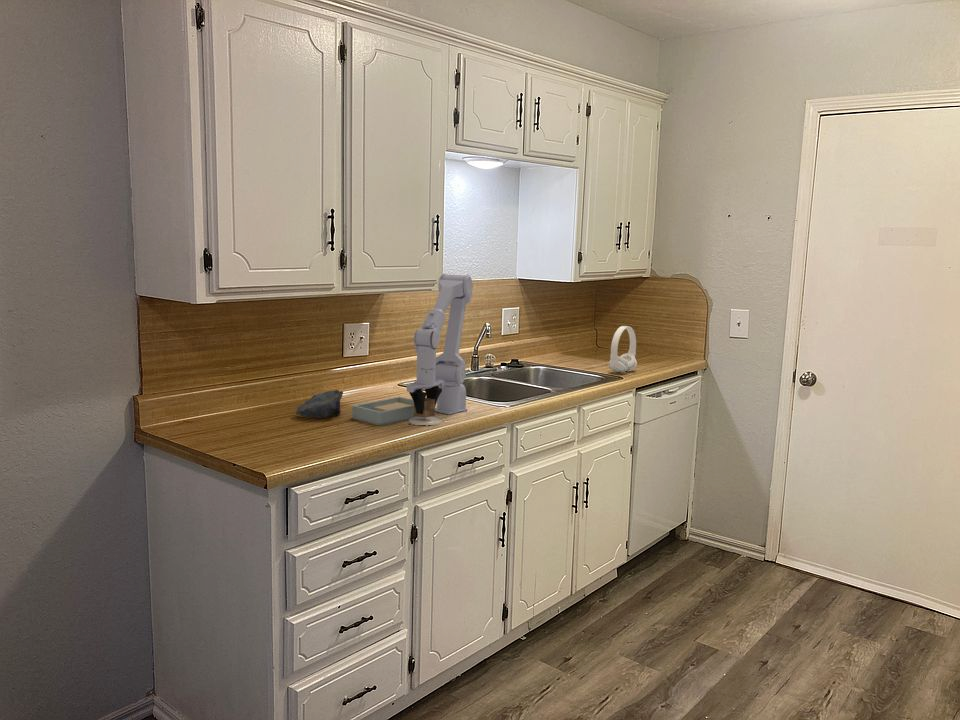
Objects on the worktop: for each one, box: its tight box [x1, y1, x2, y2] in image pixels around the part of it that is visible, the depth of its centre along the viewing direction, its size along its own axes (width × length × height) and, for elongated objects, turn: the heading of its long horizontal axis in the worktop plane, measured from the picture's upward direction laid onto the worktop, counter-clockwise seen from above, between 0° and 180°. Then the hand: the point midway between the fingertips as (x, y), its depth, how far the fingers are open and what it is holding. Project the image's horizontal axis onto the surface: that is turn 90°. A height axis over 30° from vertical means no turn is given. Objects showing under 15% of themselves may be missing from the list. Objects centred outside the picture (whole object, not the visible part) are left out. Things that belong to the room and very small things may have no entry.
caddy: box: [351, 396, 418, 427], centre depth 241 cm, size 20×12×4 cm, turn 141°
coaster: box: [408, 416, 443, 427], centre depth 236 cm, size 10×10×1 cm
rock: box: [294, 389, 344, 419], centre depth 239 cm, size 16×8×10 cm
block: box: [414, 397, 436, 418], centre depth 236 cm, size 4×4×5 cm
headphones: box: [607, 325, 638, 374], centre depth 333 cm, size 8×19×20 cm, turn 143°
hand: (425, 412), depth 236 cm, fingers closed on block, 4 cm apart
